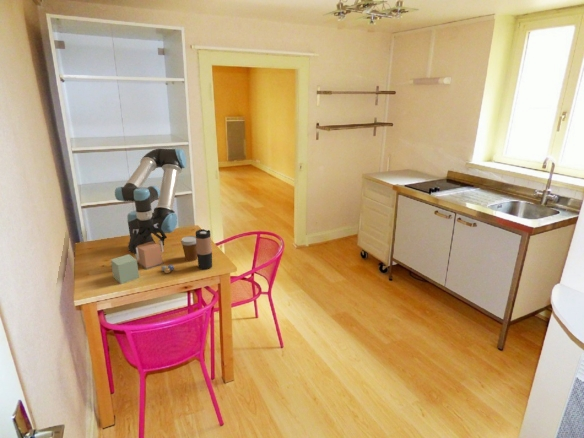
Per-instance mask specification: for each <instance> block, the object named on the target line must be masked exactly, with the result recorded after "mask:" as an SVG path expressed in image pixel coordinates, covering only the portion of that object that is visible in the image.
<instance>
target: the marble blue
mask: <svg viewBox="0 0 584 438" xmlns="http://www.w3.org/2000/svg"><path fill="white" fill-rule="evenodd" d="M167 268H170V272H171V271H173V270H174V268H175V267H174V265H173V264H169V265H168V266H167Z"/></svg>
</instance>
